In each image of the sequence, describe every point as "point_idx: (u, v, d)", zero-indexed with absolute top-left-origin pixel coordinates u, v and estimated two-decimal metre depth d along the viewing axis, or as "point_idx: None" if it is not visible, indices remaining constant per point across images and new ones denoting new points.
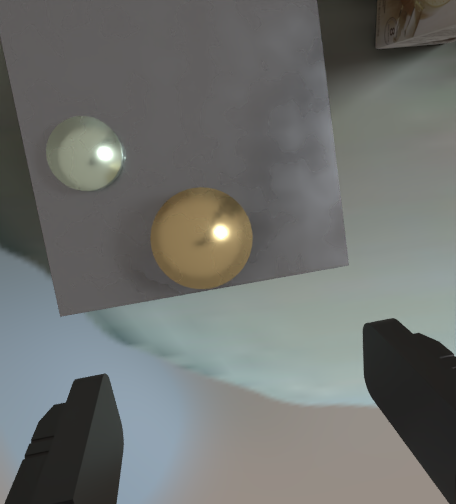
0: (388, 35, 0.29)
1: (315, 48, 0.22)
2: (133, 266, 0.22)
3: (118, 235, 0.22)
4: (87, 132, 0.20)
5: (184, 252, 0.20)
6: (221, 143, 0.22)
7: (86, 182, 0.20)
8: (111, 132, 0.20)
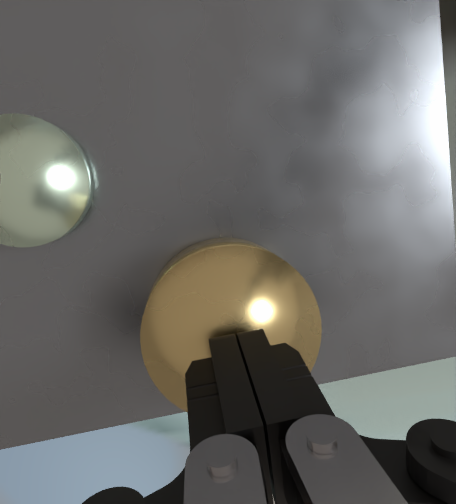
0: None
1: None
2: (113, 367, 0.13)
3: (86, 317, 0.13)
4: (24, 142, 0.11)
5: None
6: (262, 159, 0.13)
7: (25, 233, 0.11)
8: (68, 143, 0.11)
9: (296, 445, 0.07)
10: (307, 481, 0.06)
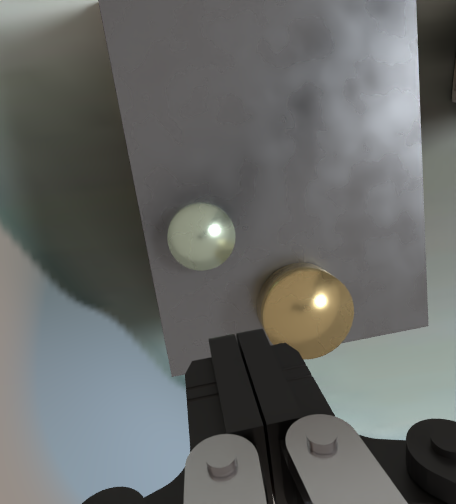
0: None
1: (413, 131, 0.23)
2: (238, 332, 0.24)
3: (225, 305, 0.23)
4: (205, 218, 0.21)
5: (292, 328, 0.22)
6: (322, 221, 0.23)
7: (202, 263, 0.22)
8: (227, 217, 0.22)
9: (296, 445, 0.07)
10: (307, 481, 0.06)
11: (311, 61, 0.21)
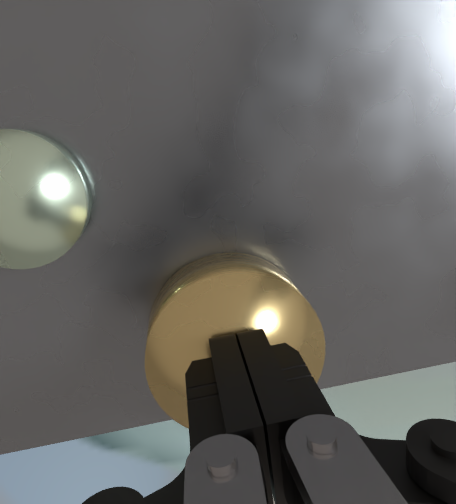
0: None
1: None
2: (116, 377, 0.13)
3: (88, 331, 0.13)
4: (16, 160, 0.10)
5: None
6: (270, 172, 0.12)
7: (21, 254, 0.11)
8: (64, 160, 0.10)
9: (296, 445, 0.07)
10: (307, 481, 0.06)
11: None
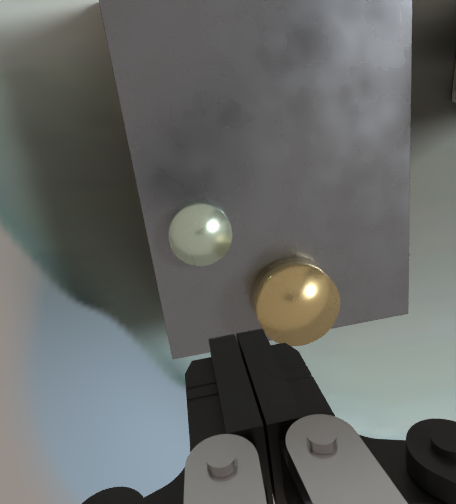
0: None
1: (403, 134, 0.24)
2: (233, 319, 0.26)
3: (222, 296, 0.25)
4: (204, 217, 0.23)
5: (284, 319, 0.24)
6: (314, 219, 0.25)
7: (201, 259, 0.24)
8: (224, 217, 0.23)
9: (296, 445, 0.07)
10: (307, 481, 0.06)
11: (307, 67, 0.22)
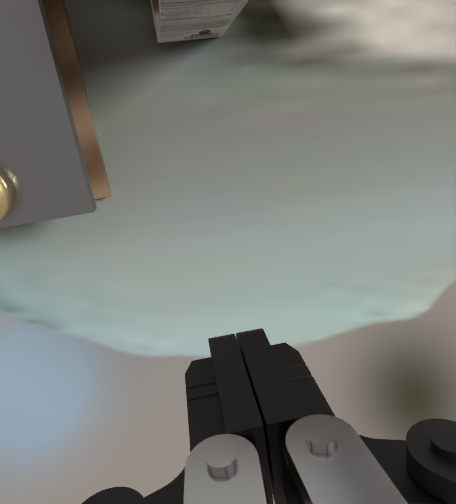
0: None
1: (46, 55, 0.30)
2: None
3: None
4: None
5: None
6: None
7: None
8: None
9: (296, 445, 0.07)
10: (307, 481, 0.06)
11: None
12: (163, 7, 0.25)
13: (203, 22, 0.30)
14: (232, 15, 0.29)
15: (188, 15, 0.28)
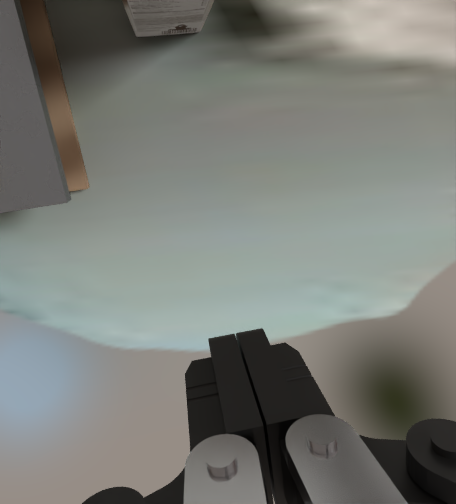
0: None
1: (20, 46, 0.30)
2: None
3: None
4: None
5: None
6: None
7: None
8: None
9: (296, 445, 0.07)
10: (307, 481, 0.06)
11: None
12: (131, 0, 0.25)
13: (176, 16, 0.31)
14: (204, 10, 0.30)
15: (159, 9, 0.28)
